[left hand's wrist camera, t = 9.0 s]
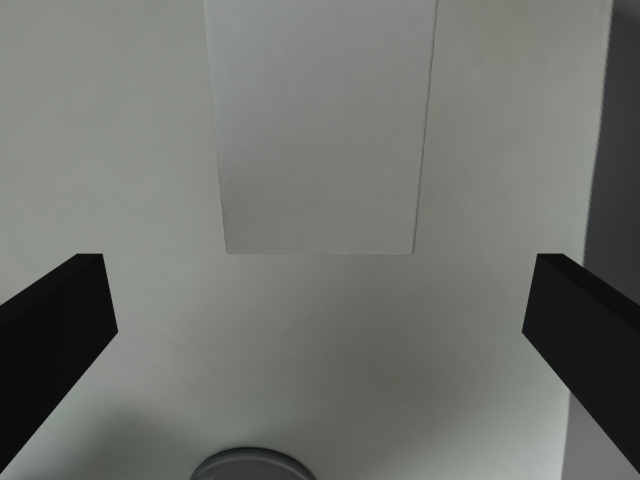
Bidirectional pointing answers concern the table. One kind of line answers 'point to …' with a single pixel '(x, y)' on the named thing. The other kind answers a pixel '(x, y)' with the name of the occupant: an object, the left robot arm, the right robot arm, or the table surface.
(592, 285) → the left robot arm
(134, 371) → the table surface
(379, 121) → the bar
